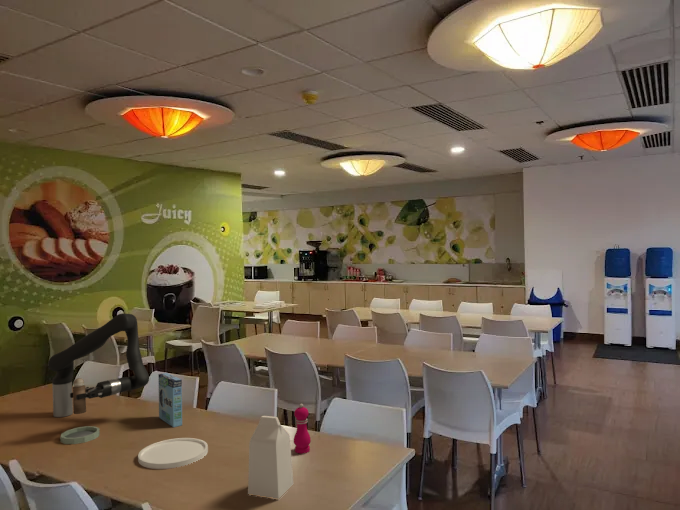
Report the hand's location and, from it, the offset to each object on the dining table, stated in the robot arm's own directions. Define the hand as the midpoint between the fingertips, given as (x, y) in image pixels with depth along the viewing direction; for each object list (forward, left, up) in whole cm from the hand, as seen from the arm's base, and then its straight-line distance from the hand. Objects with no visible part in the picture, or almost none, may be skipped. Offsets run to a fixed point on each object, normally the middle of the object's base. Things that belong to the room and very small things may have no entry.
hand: (73, 396), depth 236 cm
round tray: (0, +2, -20) cm, 20 cm away
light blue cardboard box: (+17, +40, -20) cm, 48 cm away
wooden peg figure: (0, +3, -8) cm, 8 cm away
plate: (+55, +15, -20) cm, 60 cm away
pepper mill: (+98, +48, -20) cm, 111 cm away
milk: (+112, +15, -20) cm, 115 cm away
